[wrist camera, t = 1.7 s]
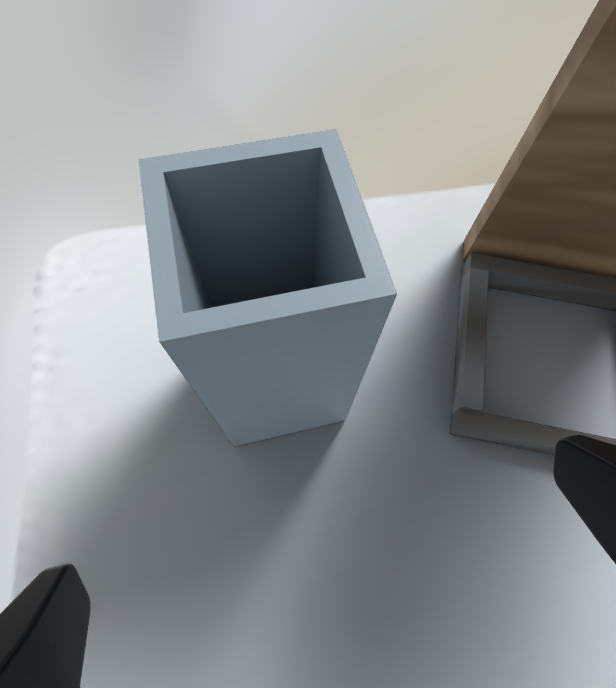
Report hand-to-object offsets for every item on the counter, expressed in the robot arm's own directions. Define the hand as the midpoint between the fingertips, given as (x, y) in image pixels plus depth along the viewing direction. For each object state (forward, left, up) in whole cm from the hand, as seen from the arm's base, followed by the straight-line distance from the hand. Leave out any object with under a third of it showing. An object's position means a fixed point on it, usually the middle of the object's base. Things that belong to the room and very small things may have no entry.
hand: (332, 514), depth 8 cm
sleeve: (+4, +6, -13) cm, 15 cm away
